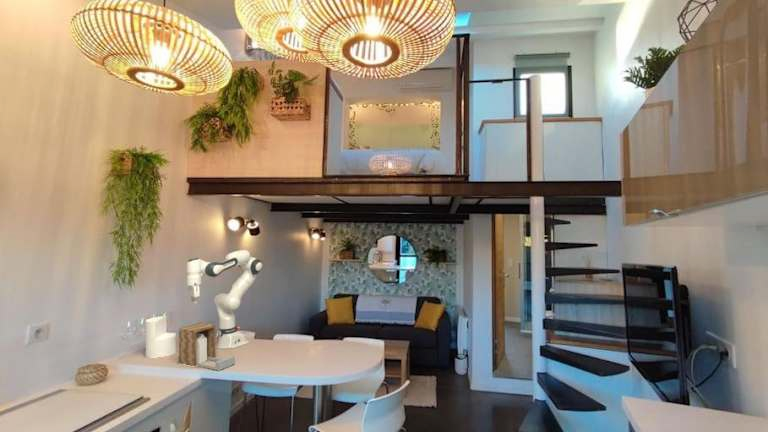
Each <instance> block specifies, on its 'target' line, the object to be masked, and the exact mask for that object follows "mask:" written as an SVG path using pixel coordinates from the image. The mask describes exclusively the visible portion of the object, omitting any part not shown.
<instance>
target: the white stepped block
mask: <svg viewBox="0 0 768 432" xmlns="http://www.w3.org/2000/svg"><path fill="white" fill-rule="evenodd" d="M176 353H177V333H176V332H167V315H162V316H156V317H155V316H154V317H151V318H147V319H146V320H145V358H146V357H150V358H155V359H158V358H157V357H163V358H165V357H164V356H167V357H170V356H173V355H174V354H176ZM172 354H173V355H172ZM169 355H170V356H169ZM150 358H149V359H150Z"/></svg>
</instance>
